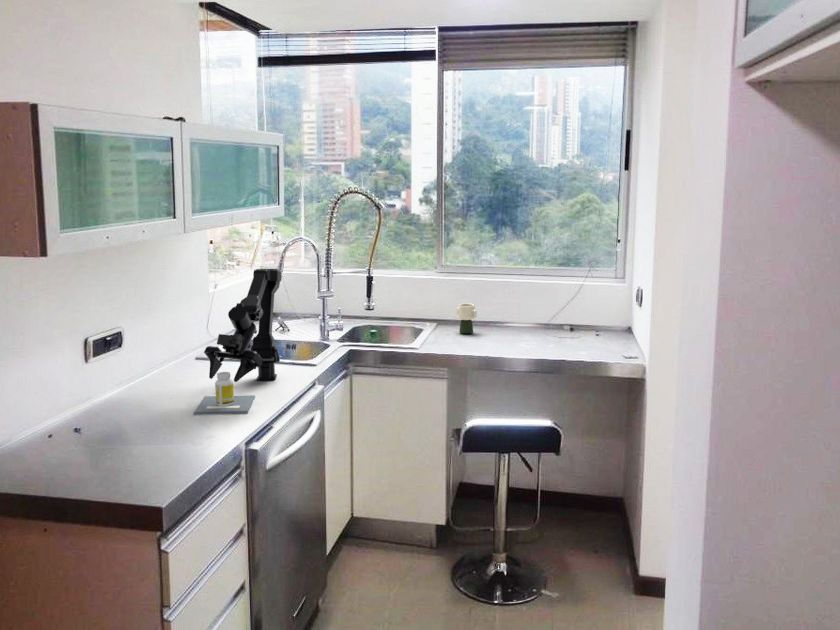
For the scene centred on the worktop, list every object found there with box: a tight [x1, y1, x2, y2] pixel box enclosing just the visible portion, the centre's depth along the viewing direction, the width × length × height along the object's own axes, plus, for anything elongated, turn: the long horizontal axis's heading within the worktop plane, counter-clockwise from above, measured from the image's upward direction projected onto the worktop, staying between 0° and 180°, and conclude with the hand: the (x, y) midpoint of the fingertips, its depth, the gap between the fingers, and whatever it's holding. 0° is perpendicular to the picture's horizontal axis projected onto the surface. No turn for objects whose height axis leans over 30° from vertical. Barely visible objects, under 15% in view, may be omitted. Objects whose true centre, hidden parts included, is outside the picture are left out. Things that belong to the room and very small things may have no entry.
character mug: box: [456, 303, 478, 335], centre depth 342 cm, size 11×7×13 cm, turn 49°
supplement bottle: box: [214, 371, 235, 406], centre depth 239 cm, size 5×5×10 cm
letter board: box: [193, 394, 256, 415], centre depth 240 cm, size 16×16×1 cm
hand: (222, 379), depth 237 cm, fingers open, 9 cm apart
